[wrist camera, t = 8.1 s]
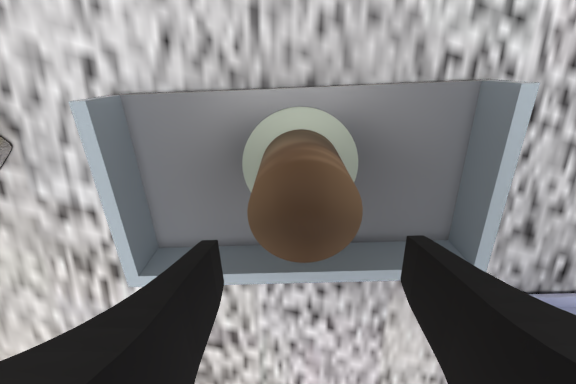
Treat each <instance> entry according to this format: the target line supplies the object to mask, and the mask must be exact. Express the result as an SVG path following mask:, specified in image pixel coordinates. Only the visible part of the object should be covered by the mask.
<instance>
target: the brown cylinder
mask: <svg viewBox="0 0 576 384" xmlns="http://www.w3.org/2000/svg"><path fill="white" fill-rule="evenodd" d="M247 215H248V223H249V226H250V229H251V231H252V233H253V235H254V237H255V238H256V240H257V241H258V243H259V244H260V245H261V246H262V247H263V248H264V249H266V250H267V251H268V252H270V253H271V254H273V255H275V256H276V257H278V258H281V259H284V260H287V261H291V262H298V263H310V262H317V261H321V260H324V259H327V258H330V257H332V256H334V255H336V254H337V253H339V252H340V251H342V250H343V249H344V248H345V247H346V246H348V245H349V244H350V242H351V241H352V240H353V239H354V237H355V236H356V234H357V232H358V230H359V228H360V225H361V221H362V215H363V206H362V200H361V197H360V194H359V192H358V189H357V187H356V186H355V184H354V182H353V180H352V178H351V176H350V174H349V173H348V171H347V169H346V167H345V165H344V163H343V162H342V160H341V158H340V156H339V154H338V152H337V150H336V149H335V147H334V146H333V144H332V143H331V142H330V141H329V140H328V139H327V138H326V137H324V136H323V135H321V134H319V133H317V132H314V131H311V130H305V129H298V130H292V131H288V132H285V133H283V134H281V135H279V136H278V137H276V138H275V139H274V140H273V141H272V142H271V143H270V144H269V145H268V147H267V148H266V150H265V152H264V154H263V157H262V160H261V164H260V167H259V170H258V173H257V176H256V180H255V183H254V186H253V189H252V192H251V196H250V199H249V203H248V209H247Z"/></svg>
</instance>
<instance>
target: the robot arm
mask: <svg viewBox="0 0 576 384" xmlns="http://www.w3.org/2000/svg"><path fill="white" fill-rule="evenodd" d="M400 280H401V283H402V286H403V289H404V292H405V294H406V297H407V300H408V302H409V305H410V307H411V309H412V311H413V313H414V315H415V317H416V319H417V321H418V323H419V325H420V327H421V329H422V331H423V333H424V334H425V336H426V338H427V340H428V342H429V344H430V346H431V348H432V350H433V352H434V354H435V356H436V358H437V360H438V362H439V364H440V366H441V368H442V370H443V373H444V375H445V377H446V380H447V382H448V384H576V293H563V294H527V293H525V292H522V291H520V290H518V289H516V288H514V287H512V286H510V285H508V284H506V283H505V282H503V281H501V280H499V279H497V278H495V277H493V276H492V275H490V274H488V273H486V272H484V271H483V270H481V269H479V268H477V267H476V266H474V265H472V264H471V263H469V262H467V261H466V260H464V259H462V258H461V257H459V256H457V255H456V254H454V253H453V252H451V251H449V250H448V249H446V248H444V247H443V246H441V245H440V244H438V243H436V242H435V241H433V240H431V239H429V238H427V237H426V236H424V235H415V236H407V238H406V245H405V251H404V258H403V265H402V272H401V278H400ZM223 286H224V278H223V271H222V265H221V258H220V251H219V245H218V240H202V241H200V242H199V243H198V244H196V245H195V246H194V247H193V248H192V249H190V250H189V251H188V252H187V253H186V254H184V255H183V256H182V257H181V258H180V259H178V260H177V261H176V262H175V263H174V264H172V265H171V266H170V267H169V268H168V269H166V270H165V271H164V272H162V273H161V274H160V275H158V276H157V277H156V278H154V279H153V280H152V281H150V282H149V283H148V284H146V285H145V286H144V287H142V288H141V289H139V290H138V291H137V292H135V293H134V294H132V295H131V296H129V297H128V298H126V299H124V300H123V301H121V302H120V303H118V304H116V305H115V306H113V307H111V308H110V309H108V310H106V311H105V312H103V313H101V314H99V315H97V316H95V317H94V318H92V319H90V320H88V321H86V322H85V323H83V324H81V325H79V326H77V327H75V328H73V329H71V330H69V331H67V332H65V333H63V334H61V335H59V336H57V337H55V338H53V339H51V340H49V341H46V342H44V343H42V344H40V345H38V346H36V347H33V348H31V349H29V350H26V351H24V352H22V353H19V354H17V355H15V356H12V357H10V358H7V359H5V360H2V361H0V384H194V382H195V378H196V375H197V371H198V368H199V365H200V362H201V359H202V356H203V353H204V350H205V347H206V344H207V341H208V338H209V336H210V333H211V330H212V327H213V324H214V321H215V318H216V315H217V312H218V309H219V306H220V301H221V296H222V291H223Z"/></svg>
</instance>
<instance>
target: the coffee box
mask: <svg viewBox="0 0 576 384" xmlns="http://www.w3.org/2000/svg"><path fill="white" fill-rule="evenodd" d="M10 151H11V145H10V143H8V142H7V141H6V140H4V139H3V138H1V137H0V167H1V166H2V164H3V162H4V161H5V159H6V158H7V156H8V154H9V153H10Z"/></svg>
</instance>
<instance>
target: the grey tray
mask: <svg viewBox="0 0 576 384" xmlns="http://www.w3.org/2000/svg"><path fill="white" fill-rule="evenodd" d="M539 85H540V83H537V82H522V81H507V80H492V79H486V80H462V81H437V82H413V83H388V84H363V85H339V86H314V87H289V88H265V89H240V90H215V91H191V92H166V93H141V94H117V95H107V96H101V97H94V98H88V99H82V100H75V101H69V105H70V108H71V111H72V114H73V117H74V120H75V123H76V126H77V129H78V132H79V136H80V139H81V142H82V145H83V148H84V151H85V154H86V157H87V160H88V163H89V166H90V169H91V172H92V176H93V179H94V182H95V185H96V188H97V191H98V194H99V197H100V200H101V203H102V206H103V209H104V213H105V216H106V219H107V222H108V225H109V228H110V231H111V234H112V237H113V240H114V243H115V246H116V250H117V253H118V256H119V259H120V262H121V265H122V268H123V271H124V274H125V277H126V280H127V283H128V286H129V287H144V286H145V285H146V284H148V283H149V282H150V281H152V280H153V279H154V278H156V277H157V276H158V275H160V274H161V273H162V272H164V271H165V270H166V269H168V268H169V267H170V266H171V265H172V264H174V263H175V262H176V261H177V260H178V259H180V258H181V257H182V256H183V255H184V254H186V253H187V252H188V251H189V250H190V249H192V248H193V247H194V246H195V245H196V244H198V243H199V242H200V241H202V240H218V245H219V251H220V258H221V265H222V271H223V278H224V285H235V284H277V283H318V282H360V281H401V280H400V278H401V272H402V265H403V258H404V251H405V245H406V238H407V236H415V235H424V236H426V237H427V238H429V239H431V240H433V241H435V242H436V243H438V244H440V245H441V246H443V247H444V248H446V249H448V250H449V251H451V252H453V253H454V254H456V255H457V256H459V257H461V258H462V259H464V260H466V261H467V262H469V263H471V264H472V265H474V266H476V267H477V268H479V269H481V270H483V271H484V272H486V271H487V267H488V263H489V260H490V256H491V253H492V249H493V246H494V242H495V239H496V235H497V232H498V228H499V225H500V221H501V218H502V214H503V211H504V207H505V204H506V200H507V197H508V193H509V190H510V186H511V183H512V179H513V176H514V172H515V169H516V165H517V162H518V158H519V155H520V151H521V148H522V144H523V141H524V137H525V134H526V130H527V127H528V123H529V120H530V116H531V113H532V109H533V106H534V102H535V99H536V95H537V92H538V88H539ZM298 129H305V130H311V131H314V132H317V133H319V134H321V135H323V136H324V137H326V138H327V139H328V140H329V141H330V142H331V143H332V144H333V146H334V147H335V149H336V150H337V152H338V154H339V156H340V158H341V160H342V162H343V163H344V165H345V167H346V169H347V171H348V173H349V174H350V176H351V178H352V180H353V182H354V184H355V186H356V187H357V189H358V192H359V194H360V197H361V200H362V206H363V215H362V221H361V225H360V228H359V230H358V232H357V234H356V236H355V237H354V239H353V240H352V241H351V242H350V244H349V245H348V246H346V247H345V248H344V249H343V250H342V251H340V252H339V253H337V254H336V255H334V256H332V257H330V258H327V259H324V260H321V261H317V262H310V263H298V262H291V261H287V260H284V259H281V258H278V257H276V256H275V255H273V254H271V253H270V252H268V251H267V250H266V249H264V248H263V247H262V246H261V245H260V244H259V243H258V241H257V240H256V238H255V237H254V235H253V233H252V231H251V229H250V226H249V223H248V215H247V209H248V203H249V199H250V196H251V192H252V189H253V186H254V183H255V180H256V176H257V173H258V170H259V167H260V164H261V160H262V157H263V154H264V152H265V150H266V148H267V147H268V145H269V144H270V143H271V142H272V141H273V140H274V139H275V138H276V137H278V136H279V135H281V134H283V133H285V132H288V131H292V130H298Z"/></svg>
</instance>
